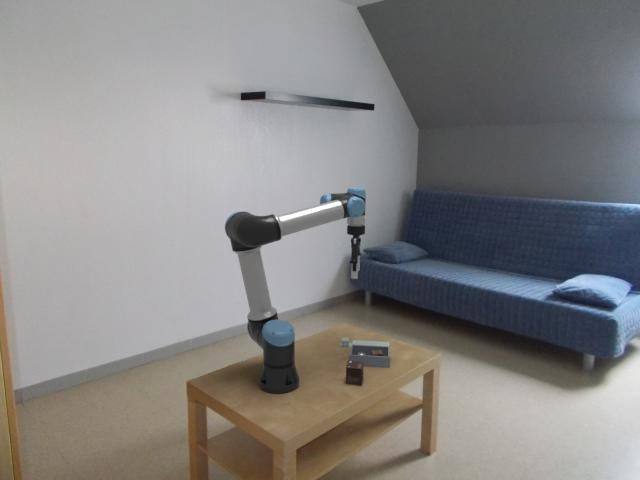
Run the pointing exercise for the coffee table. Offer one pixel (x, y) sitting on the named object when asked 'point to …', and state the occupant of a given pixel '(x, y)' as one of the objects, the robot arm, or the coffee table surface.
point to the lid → (362, 343)
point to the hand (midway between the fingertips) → (355, 274)
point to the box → (354, 373)
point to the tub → (367, 358)
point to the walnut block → (376, 353)
